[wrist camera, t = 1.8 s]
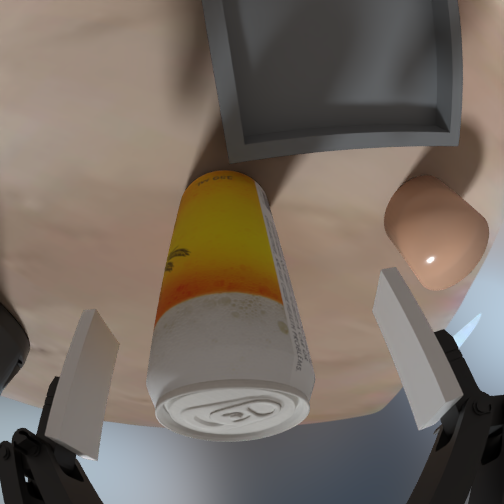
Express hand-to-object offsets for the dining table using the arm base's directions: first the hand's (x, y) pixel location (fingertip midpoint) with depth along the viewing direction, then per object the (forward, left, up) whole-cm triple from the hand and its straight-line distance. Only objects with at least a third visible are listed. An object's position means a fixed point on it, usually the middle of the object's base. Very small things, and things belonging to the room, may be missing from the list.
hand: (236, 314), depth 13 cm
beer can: (0, 0, -10) cm, 10 cm away
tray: (+9, +12, -10) cm, 18 cm away
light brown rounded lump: (+16, -3, -10) cm, 19 cm away
